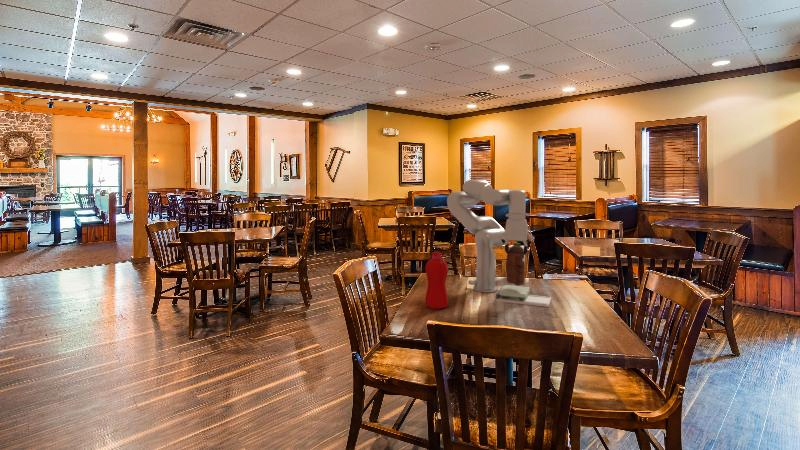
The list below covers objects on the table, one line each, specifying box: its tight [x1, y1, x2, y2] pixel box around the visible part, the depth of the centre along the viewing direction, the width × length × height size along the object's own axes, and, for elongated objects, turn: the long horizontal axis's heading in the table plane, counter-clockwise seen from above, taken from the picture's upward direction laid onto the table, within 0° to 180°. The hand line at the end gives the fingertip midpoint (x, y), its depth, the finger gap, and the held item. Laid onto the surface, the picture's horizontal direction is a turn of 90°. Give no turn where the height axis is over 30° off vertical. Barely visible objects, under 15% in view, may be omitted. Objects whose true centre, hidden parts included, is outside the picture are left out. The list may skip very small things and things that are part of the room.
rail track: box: [494, 287, 552, 308], centre depth 212 cm, size 24×13×3 cm, turn 66°
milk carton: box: [509, 242, 526, 269], centre depth 258 cm, size 9×9×20 cm
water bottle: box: [424, 251, 449, 310], centre depth 201 cm, size 9×11×25 cm
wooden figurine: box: [505, 245, 525, 286], centre depth 211 cm, size 12×6×18 cm, turn 18°
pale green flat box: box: [499, 284, 531, 300], centre depth 213 cm, size 12×14×3 cm
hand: (516, 253), depth 211 cm, fingers closed on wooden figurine, 7 cm apart
